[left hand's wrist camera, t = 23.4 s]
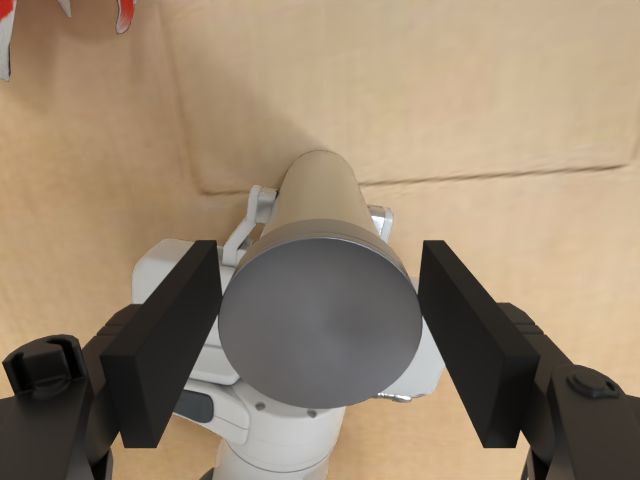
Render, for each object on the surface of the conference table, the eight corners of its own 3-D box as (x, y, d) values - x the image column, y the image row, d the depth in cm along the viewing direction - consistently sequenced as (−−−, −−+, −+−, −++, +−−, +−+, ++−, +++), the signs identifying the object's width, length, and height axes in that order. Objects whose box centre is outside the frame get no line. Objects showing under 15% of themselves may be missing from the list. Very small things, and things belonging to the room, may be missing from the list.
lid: (192, 282, 12) (174, 309, 10) (347, 179, 11) (351, 193, 9) (299, 399, 14) (296, 435, 12) (442, 323, 12) (458, 354, 11)
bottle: (283, 218, 28) (237, 377, 12) (285, 148, 26) (233, 230, 10) (352, 222, 28) (392, 385, 13) (359, 152, 26) (417, 241, 11)
